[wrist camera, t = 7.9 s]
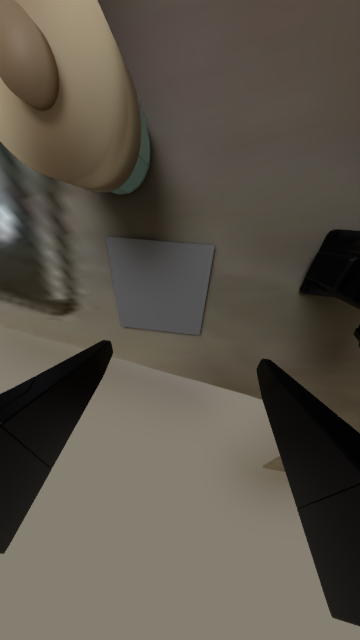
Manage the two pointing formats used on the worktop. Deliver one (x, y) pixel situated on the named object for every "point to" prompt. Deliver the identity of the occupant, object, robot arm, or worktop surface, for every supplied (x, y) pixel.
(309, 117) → the worktop surface
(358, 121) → the worktop surface
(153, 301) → the mat
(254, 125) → the worktop surface
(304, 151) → the worktop surface
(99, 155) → the lid
